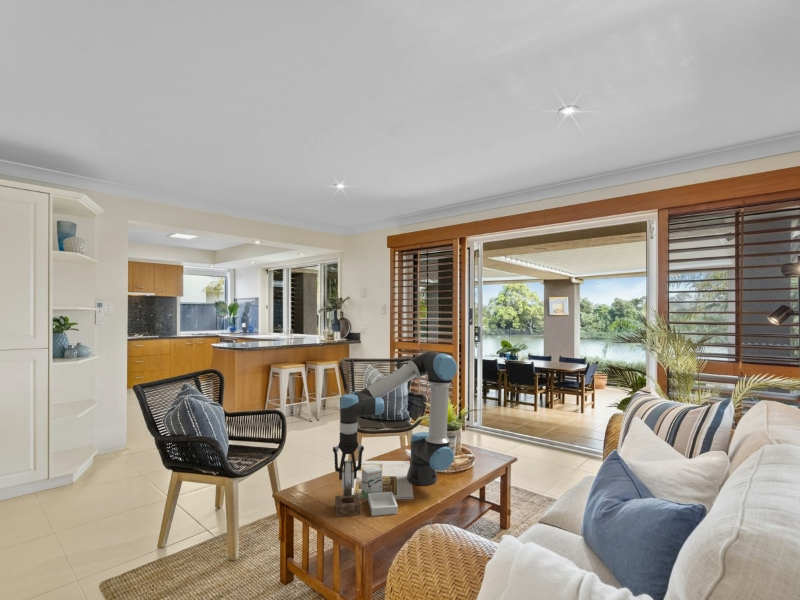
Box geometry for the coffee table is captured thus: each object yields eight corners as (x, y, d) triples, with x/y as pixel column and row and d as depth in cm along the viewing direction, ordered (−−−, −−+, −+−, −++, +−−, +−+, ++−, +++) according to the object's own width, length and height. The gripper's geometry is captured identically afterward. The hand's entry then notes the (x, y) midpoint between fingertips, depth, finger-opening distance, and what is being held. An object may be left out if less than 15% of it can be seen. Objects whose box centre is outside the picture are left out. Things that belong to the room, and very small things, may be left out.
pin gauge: (351, 492, 182) (351, 459, 183) (352, 496, 179) (352, 463, 179) (343, 493, 182) (343, 460, 182) (343, 496, 178) (344, 463, 178)
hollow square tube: (358, 503, 186) (358, 494, 186) (360, 514, 176) (360, 504, 176) (335, 505, 184) (335, 496, 184) (336, 516, 174) (336, 506, 174)
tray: (392, 498, 191) (392, 491, 191) (397, 513, 177) (398, 506, 177) (367, 500, 189) (367, 493, 189) (371, 515, 175) (371, 508, 175)
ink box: (366, 499, 190) (366, 472, 191) (361, 494, 195) (361, 469, 195) (382, 494, 195) (382, 468, 195) (377, 490, 199) (377, 465, 199)
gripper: (366, 428, 186) (366, 481, 186) (328, 429, 183) (327, 484, 182) (368, 433, 179) (368, 489, 178) (329, 435, 175) (328, 492, 175)
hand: (347, 486), depth 180 cm, fingers closed on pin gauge, 4 cm apart
